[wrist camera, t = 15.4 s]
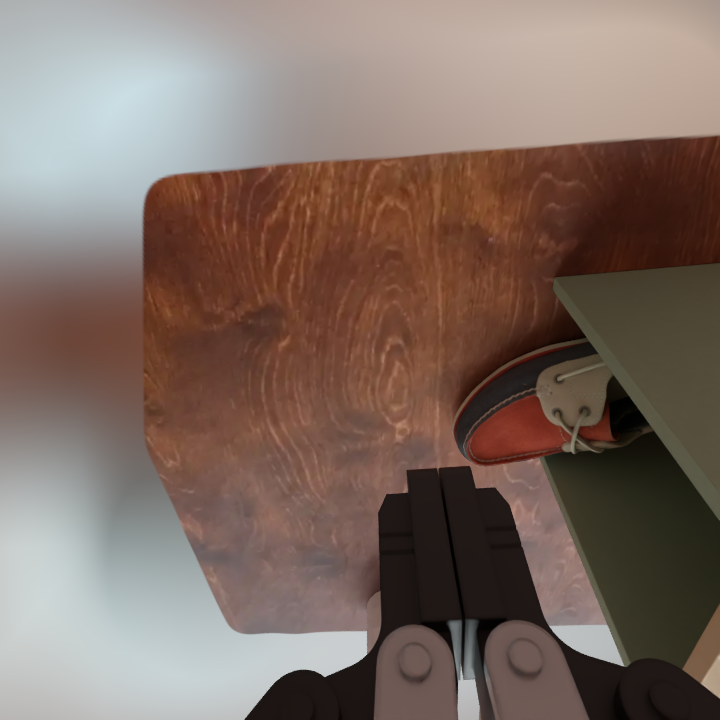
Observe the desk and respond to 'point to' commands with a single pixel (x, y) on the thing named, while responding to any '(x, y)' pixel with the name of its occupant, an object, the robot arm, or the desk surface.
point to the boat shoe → (547, 408)
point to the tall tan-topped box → (652, 465)
